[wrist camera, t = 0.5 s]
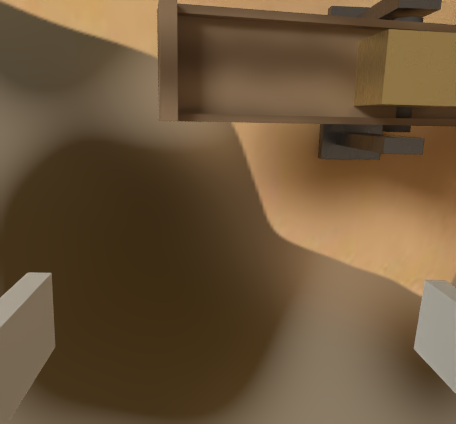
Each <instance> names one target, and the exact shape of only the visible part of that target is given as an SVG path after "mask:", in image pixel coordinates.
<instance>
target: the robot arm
mask: <svg viewBox="0 0 456 424" xmlns="http://www.w3.org/2000/svg"><path fill="white" fill-rule="evenodd" d="M54 348H55V335H54V317H53V295H52V275H51V273H27V274H26V275H25V276H24V277H23V278H21V279H20V280H19V281H18V282H17V283H16V284H15V285H14V286H13V287H12V288H11V289H9V290H8V291H7V292H6V293H5V294H4V295H3V296H2V297H1V298H0V424H7V423H8V422H9V420H10V419H11V417H12V416H13V414H14V412H15V411H16V409H17V407H18V406H19V404H20V403H21V401H22V399H23V398H24V396H25V395H26V393H27V391H28V390H29V388H30V387H31V385H32V383H33V382H34V380H35V378H36V377H37V375H38V374H39V372H40V370H41V368H42V367H43V366H44V364H45V362H46V361H47V359H48V358H49V356H50V354H51V353H52V351H53V349H54ZM414 349H415V350H416V352H417V353H418V354H419V355H420V356H421V357H422V358H423V359H424V360H425V361H426V362H427V363H428V365H429V366H430V367H431V368H432V369H433V370H434V371H435V372H436V373H437V374H438V375H439V376H440V377H441V378H442V379H443V381H444V382H445V383H446V384H447V385H448V386H449V387H450V388H451V389H452V390H453V391H454V392H455V393H456V287H454V286H453V285H451V284H450V283H448V282H447V281H442V280H425V284H424V290H423V296H422V303H421V308H420V314H419V320H418V326H417V332H416V338H415V345H414Z"/></svg>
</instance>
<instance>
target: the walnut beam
mask: <svg viewBox="0 0 456 424" xmlns="http://www.w3.org/2000/svg"><path fill="white" fill-rule="evenodd" d="M388 29H396V30H414V31H432V32H449V33H456V25H448V24H435V23H423V18H422V17H417V16H409V17H401V18H397V19H394V20H383V19H370V18H357V17H344V16H331V15H318V14H305V13H292V12H279V11H266V10H253V9H240V8H227V7H214V6H201V5H189V4H177V0H159V4H158V9H157V32H158V87H159V121H198V122H252V123H306V124H360V125H383V128H382V131H385V132H410V128H411V125H415V126H456V107H440V108H416V107H378V106H353V105H354V93H355V81H356V70H357V58H358V46H359V41H360V40H363V39H365V38H368V37H370V36H373V35H375V34H378V33H380V32H383V31H385V30H388Z"/></svg>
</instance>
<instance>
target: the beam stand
mask: <svg viewBox="0 0 456 424" xmlns="http://www.w3.org/2000/svg"><path fill="white" fill-rule="evenodd" d="M441 1H442V0H382V1H380V2H379V3H377V4H375V5H374V6H372V7H371V8H367V7H343V6H331V7H330V8H329V9H328V15H331V16H344V17H357V18H370V19H383V20H394V19H397V18H401V17H409V16H417V17H424V16H427V15H429V14H431V13H433V12H435V11H438V10H440V9H441ZM382 128H383V125H360V124H320V138H319V153H318V158H320V159H373V160H379V159H380V153H382V154H423V146H424V138H417V137H406V136H395V135H384V134H382Z"/></svg>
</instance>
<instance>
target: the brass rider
mask: <svg viewBox="0 0 456 424" xmlns="http://www.w3.org/2000/svg"><path fill="white" fill-rule="evenodd" d="M353 106H378V107H416V108H440V107H456V33H449V32H432V31H414V30H396V29H388V30H385V31H383V32H380V33H378V34H375V35H373V36H370V37H368V38H365V39H363V40H360V41H359V46H358V58H357V70H356V81H355V93H354V105H353Z"/></svg>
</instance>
